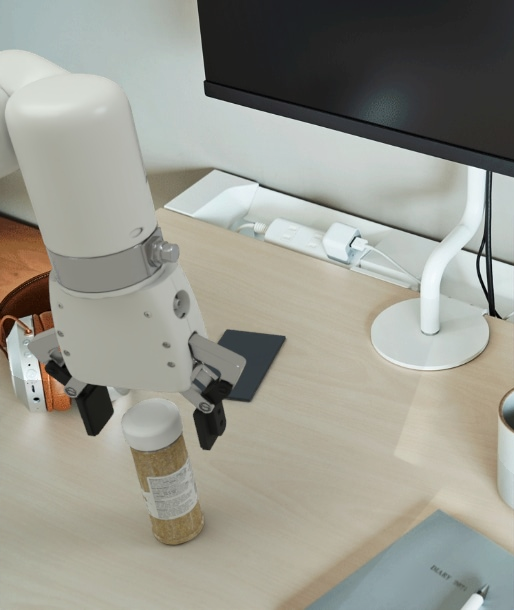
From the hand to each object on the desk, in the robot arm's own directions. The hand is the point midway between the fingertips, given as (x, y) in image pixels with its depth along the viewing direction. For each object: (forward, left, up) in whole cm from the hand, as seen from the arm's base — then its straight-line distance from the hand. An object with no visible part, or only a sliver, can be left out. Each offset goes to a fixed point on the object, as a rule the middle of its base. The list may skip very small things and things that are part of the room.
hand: (157, 431), depth 75 cm
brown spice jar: (0, 0, -12) cm, 12 cm away
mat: (-4, +23, -12) cm, 26 cm away
